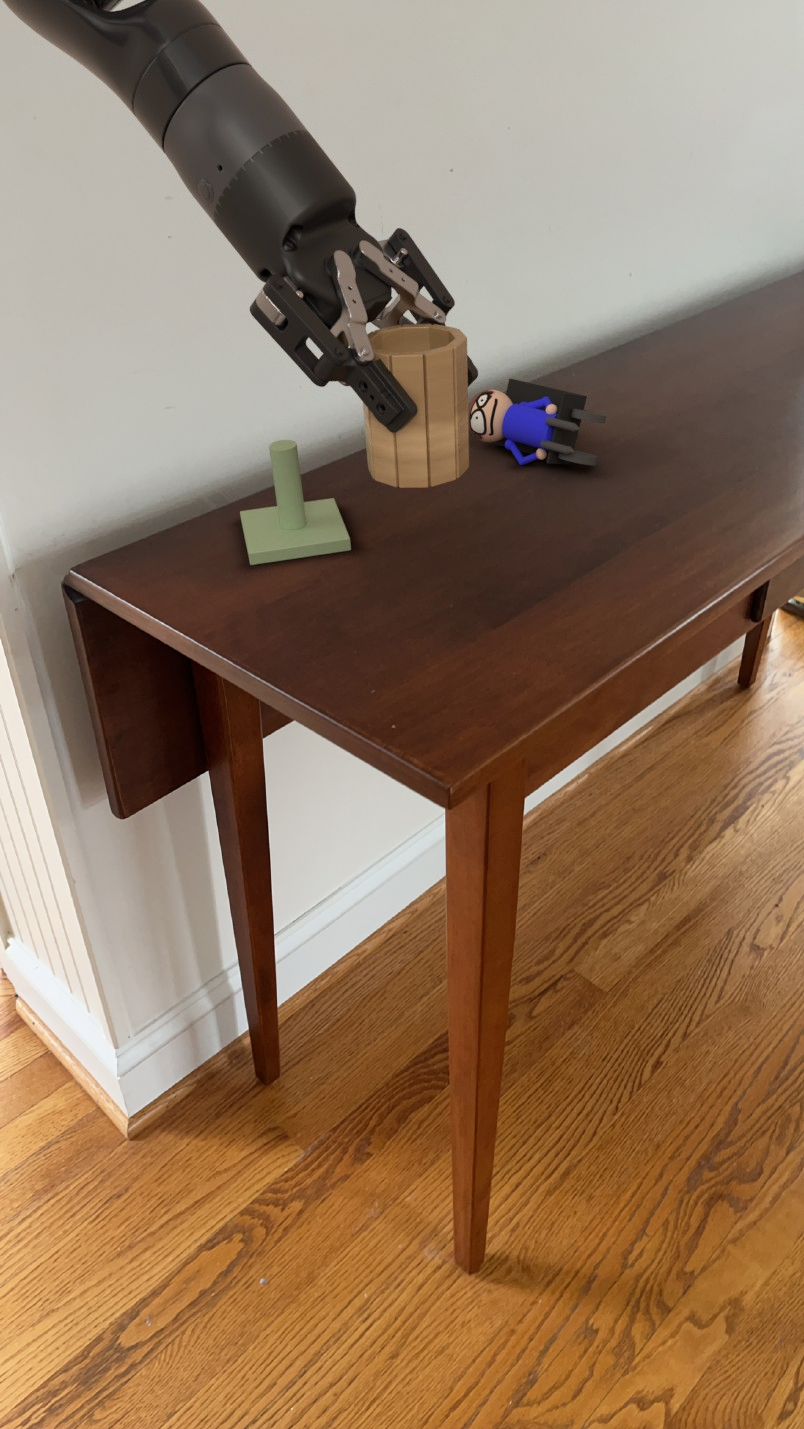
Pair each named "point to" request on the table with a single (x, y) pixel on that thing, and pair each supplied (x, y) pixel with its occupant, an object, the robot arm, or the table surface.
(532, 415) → the character figurine
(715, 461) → the table surface
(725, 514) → the table surface
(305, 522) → the stand
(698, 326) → the table surface
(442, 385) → the tan hollow cylinder
